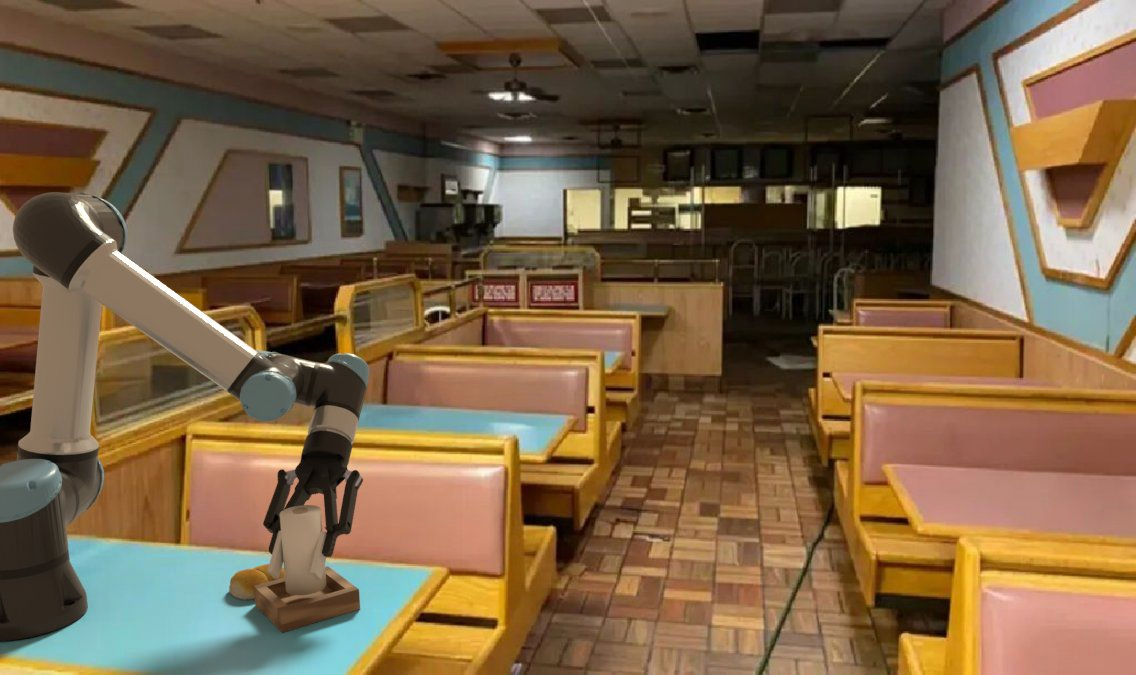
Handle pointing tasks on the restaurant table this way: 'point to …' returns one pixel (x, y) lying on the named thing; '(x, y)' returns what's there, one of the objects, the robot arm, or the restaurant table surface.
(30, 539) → the robot arm
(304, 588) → the paper roll
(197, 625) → the restaurant table surface
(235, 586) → the bread roll
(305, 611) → the tray
